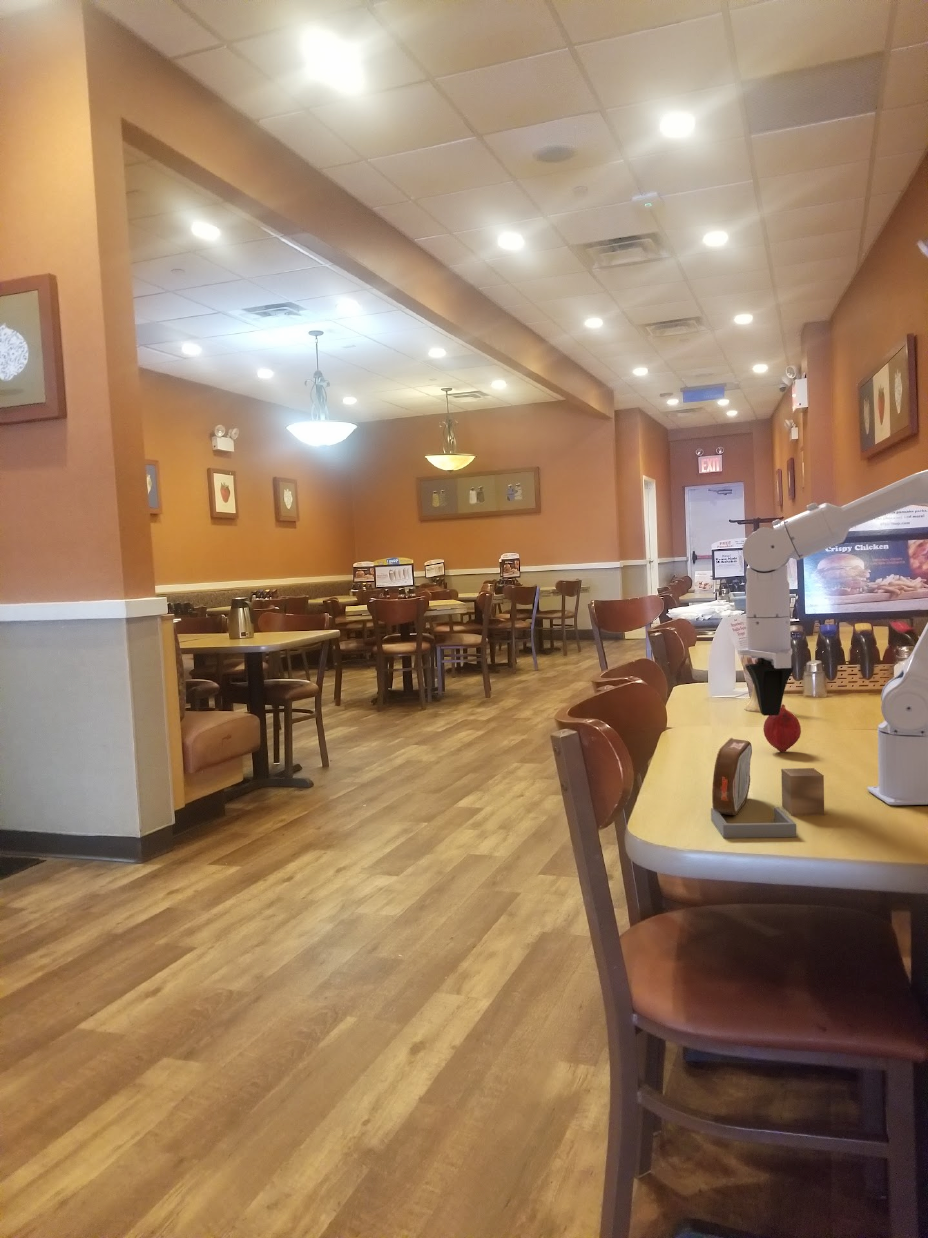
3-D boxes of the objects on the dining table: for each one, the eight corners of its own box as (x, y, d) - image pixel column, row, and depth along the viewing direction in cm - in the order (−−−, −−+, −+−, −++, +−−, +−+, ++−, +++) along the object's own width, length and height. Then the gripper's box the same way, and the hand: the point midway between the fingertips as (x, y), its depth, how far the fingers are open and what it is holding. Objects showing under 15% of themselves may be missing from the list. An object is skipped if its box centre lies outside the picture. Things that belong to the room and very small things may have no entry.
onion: (804, 755, 143) (803, 706, 142) (766, 755, 144) (765, 706, 143) (797, 748, 148) (796, 701, 148) (761, 748, 150) (760, 701, 149)
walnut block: (813, 806, 114) (813, 768, 113) (824, 815, 110) (823, 775, 109) (782, 807, 114) (781, 768, 114) (791, 815, 110) (790, 776, 110)
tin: (731, 792, 122) (730, 731, 121) (755, 794, 120) (754, 733, 120) (710, 821, 108) (708, 753, 108) (736, 824, 107) (735, 755, 107)
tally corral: (779, 819, 109) (778, 807, 108) (796, 837, 101) (796, 824, 101) (711, 820, 109) (710, 808, 109) (723, 838, 102) (723, 825, 102)
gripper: (726, 614, 129) (729, 707, 130) (751, 620, 115) (753, 724, 115) (776, 613, 129) (778, 706, 129) (806, 619, 114) (808, 723, 115)
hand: (770, 714), depth 122 cm, fingers closed
